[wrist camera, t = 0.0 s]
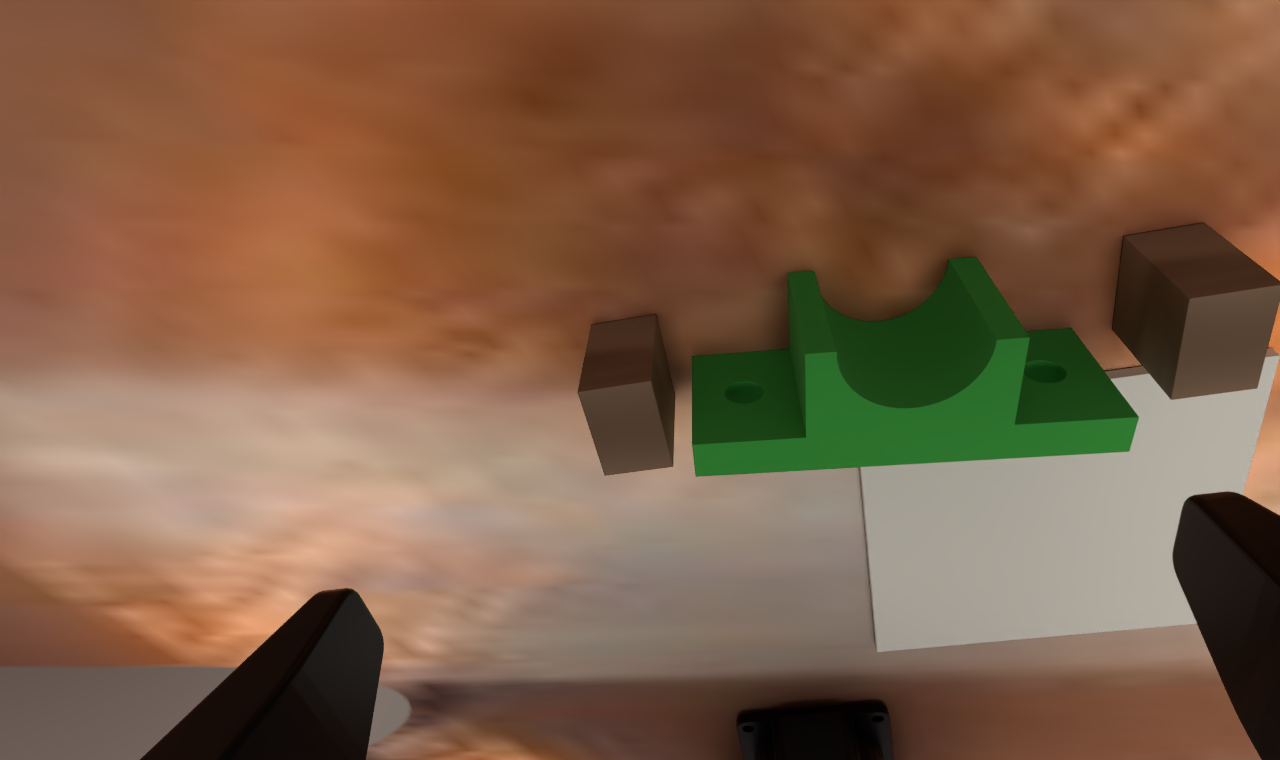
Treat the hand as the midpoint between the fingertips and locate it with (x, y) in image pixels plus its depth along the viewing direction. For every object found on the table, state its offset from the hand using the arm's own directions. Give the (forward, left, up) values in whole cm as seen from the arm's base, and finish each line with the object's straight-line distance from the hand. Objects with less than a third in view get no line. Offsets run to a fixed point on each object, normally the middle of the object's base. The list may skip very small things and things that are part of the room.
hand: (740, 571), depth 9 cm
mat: (-15, -9, -15) cm, 23 cm away
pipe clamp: (-6, -4, -15) cm, 17 cm away
